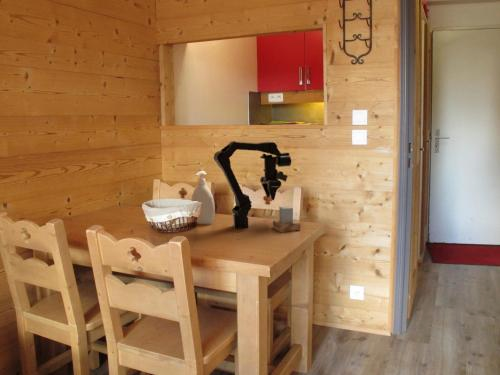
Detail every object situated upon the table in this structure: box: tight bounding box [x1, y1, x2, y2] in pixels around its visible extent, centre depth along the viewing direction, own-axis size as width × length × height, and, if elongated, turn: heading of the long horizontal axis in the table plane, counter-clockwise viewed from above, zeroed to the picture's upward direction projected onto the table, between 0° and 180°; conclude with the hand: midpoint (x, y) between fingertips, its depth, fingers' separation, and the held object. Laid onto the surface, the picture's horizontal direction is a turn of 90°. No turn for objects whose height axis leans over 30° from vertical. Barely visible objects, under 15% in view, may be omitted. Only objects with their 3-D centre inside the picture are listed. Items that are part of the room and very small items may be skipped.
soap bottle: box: [191, 170, 216, 225], centre depth 252 cm, size 14×8×27 cm, turn 56°
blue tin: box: [278, 206, 294, 223], centre depth 237 cm, size 5×5×7 cm
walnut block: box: [272, 219, 301, 233], centre depth 238 cm, size 10×10×4 cm
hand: (270, 198), depth 248 cm, fingers open, 9 cm apart
